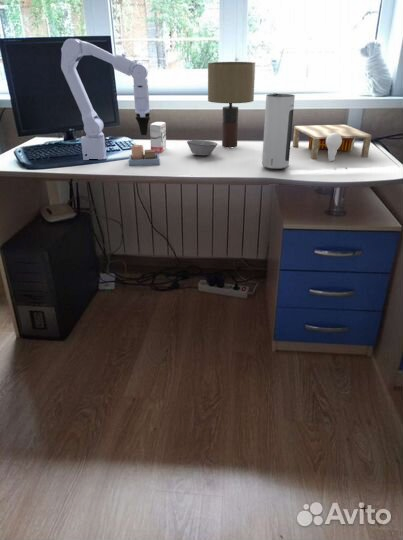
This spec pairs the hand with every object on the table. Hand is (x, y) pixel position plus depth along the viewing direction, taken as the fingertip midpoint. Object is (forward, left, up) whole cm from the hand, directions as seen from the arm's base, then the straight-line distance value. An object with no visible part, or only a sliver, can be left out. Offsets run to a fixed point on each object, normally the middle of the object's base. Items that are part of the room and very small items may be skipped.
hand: (144, 133), depth 173 cm
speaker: (+50, -21, -10) cm, 55 cm away
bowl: (+21, -1, -10) cm, 23 cm away
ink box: (+6, +12, -10) cm, 17 cm away
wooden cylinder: (-3, -9, -9) cm, 13 cm away
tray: (-1, -9, -10) cm, 13 cm away
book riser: (+80, 0, -10) cm, 81 cm away
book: (+84, +7, -10) cm, 85 cm away
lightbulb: (+74, -18, -10) cm, 77 cm away
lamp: (+39, +17, -10) cm, 44 cm away
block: (+2, -8, -9) cm, 13 cm away
